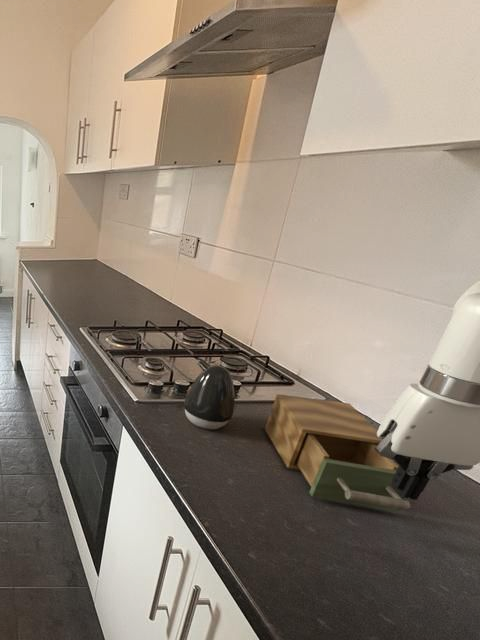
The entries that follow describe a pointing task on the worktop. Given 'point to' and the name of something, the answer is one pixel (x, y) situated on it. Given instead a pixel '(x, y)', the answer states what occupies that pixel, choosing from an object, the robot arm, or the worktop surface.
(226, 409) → the dark grey egg ornament
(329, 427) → the cabinet
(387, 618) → the worktop surface
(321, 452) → the drawer
